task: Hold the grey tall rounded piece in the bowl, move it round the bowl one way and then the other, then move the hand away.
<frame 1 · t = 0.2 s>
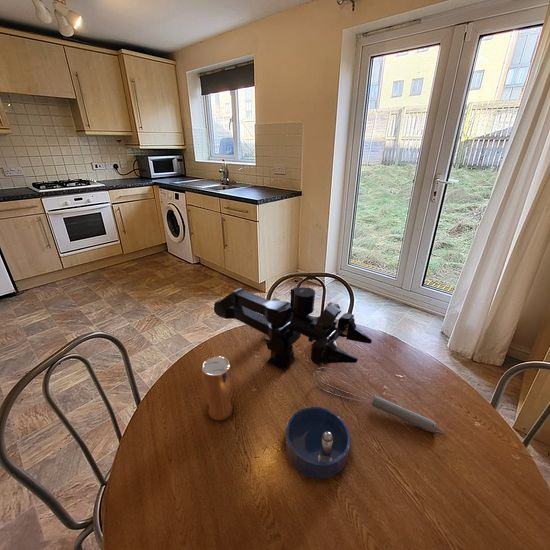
hand: (364, 350, 72), 17 cm above the table, tool horizontal, fingers open, 9 cm apart
bowl: (316, 446, 67), on the table
kitchen whisk: (370, 405, 78), on the table
shiny metal cylinder: (220, 410, 76), on the table
grey tall rounded piece: (325, 453, 62), point 4 cm above the table, hinge at 0.0°
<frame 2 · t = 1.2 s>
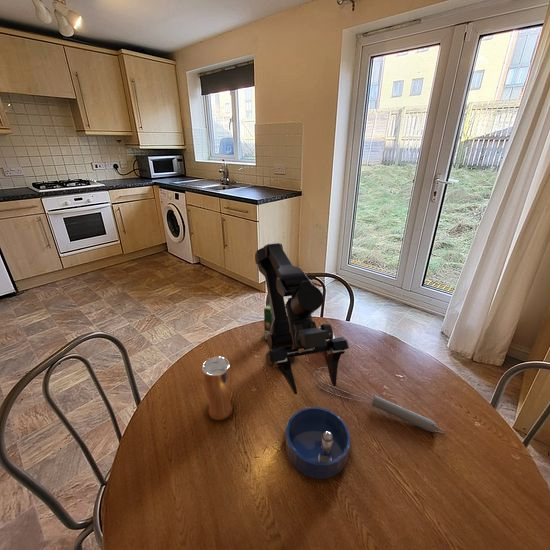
hand: (315, 390, 65), 14 cm above the table, tool tilted 45°, fingers open, 9 cm apart
nothing on the table moved.
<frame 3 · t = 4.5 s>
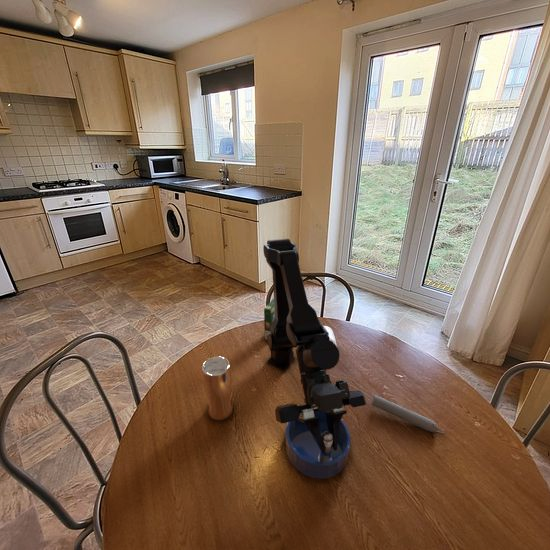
hand: (329, 451, 59), 7 cm above the table, tool tilted 45°, fingers closed on grey tall rounded piece, 2 cm apart
grey tall rounded piece: (325, 453, 62), point 4 cm above the table, hinge at 0.0°, touching gripper
everything else where it was.
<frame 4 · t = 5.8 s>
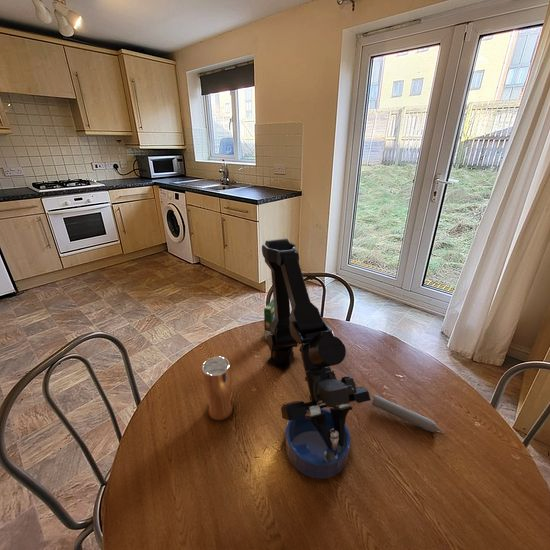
hand: (335, 447, 60), 7 cm above the table, tool tilted 45°, fingers closed on grey tall rounded piece, 2 cm apart
grey tall rounded piece: (331, 451, 62), point 4 cm above the table, hinge at 19.5°, touching gripper
everything else where it was.
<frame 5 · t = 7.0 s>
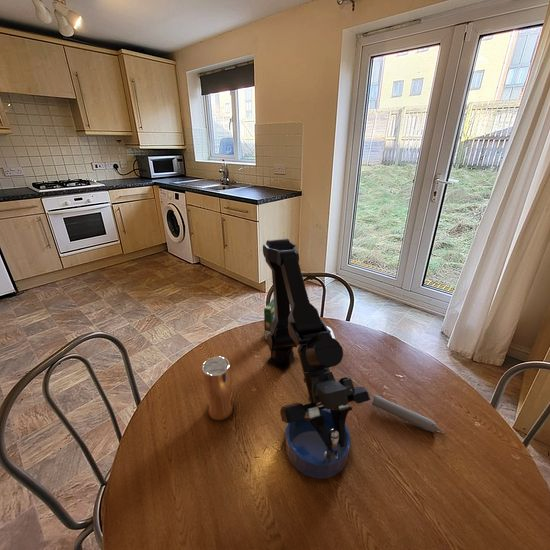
hand: (336, 448, 60), 7 cm above the table, tool tilted 45°, fingers closed
grey tall rounded piece: (331, 450, 62), point 4 cm above the table, hinge at 20.3°, touching gripper
everything else where it was.
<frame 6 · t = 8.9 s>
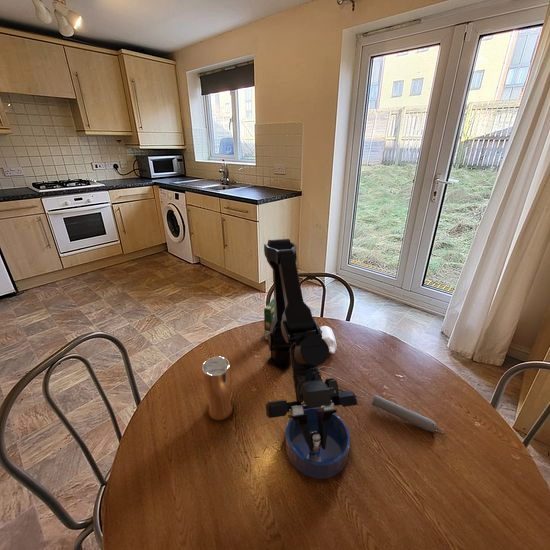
hand: (317, 450, 59), 7 cm above the table, tool tilted 45°, fingers closed on grey tall rounded piece, 2 cm apart
grey tall rounded piece: (314, 453, 62), point 4 cm above the table, hinge at -30.9°, touching gripper
everything else where it was.
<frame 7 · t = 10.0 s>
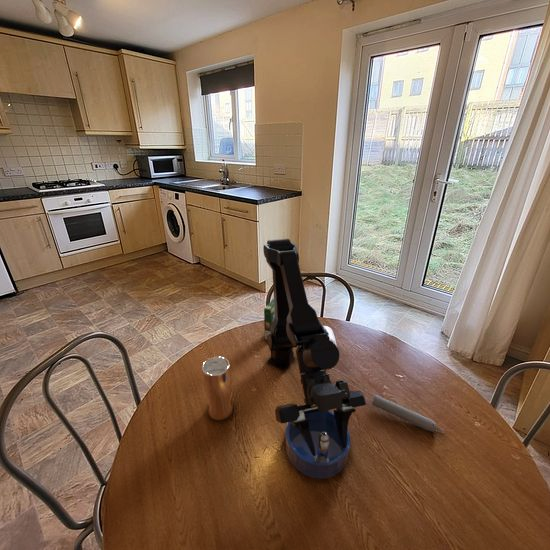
hand: (329, 451, 59), 7 cm above the table, tool tilted 45°, fingers open, 6 cm apart
grey tall rounded piece: (322, 454, 61), point 4 cm above the table, hinge at -9.4°
everything else where it was.
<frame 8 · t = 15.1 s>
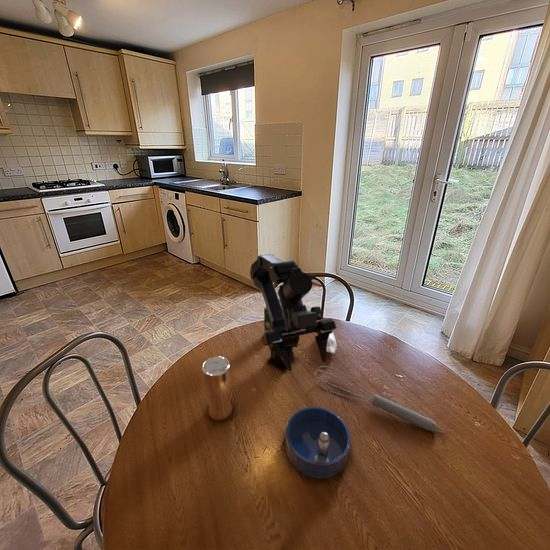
hand: (307, 366, 72), 14 cm above the table, tool tilted 45°, fingers open, 9 cm apart
nothing on the table moved.
at the end: grey tall rounded piece reached +34° during the clip, -9° at the end; grey tall rounded piece reached -32° during the clip, -9° at the end; the gripper is holding nothing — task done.
